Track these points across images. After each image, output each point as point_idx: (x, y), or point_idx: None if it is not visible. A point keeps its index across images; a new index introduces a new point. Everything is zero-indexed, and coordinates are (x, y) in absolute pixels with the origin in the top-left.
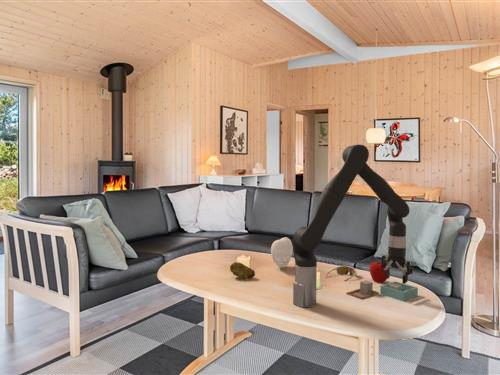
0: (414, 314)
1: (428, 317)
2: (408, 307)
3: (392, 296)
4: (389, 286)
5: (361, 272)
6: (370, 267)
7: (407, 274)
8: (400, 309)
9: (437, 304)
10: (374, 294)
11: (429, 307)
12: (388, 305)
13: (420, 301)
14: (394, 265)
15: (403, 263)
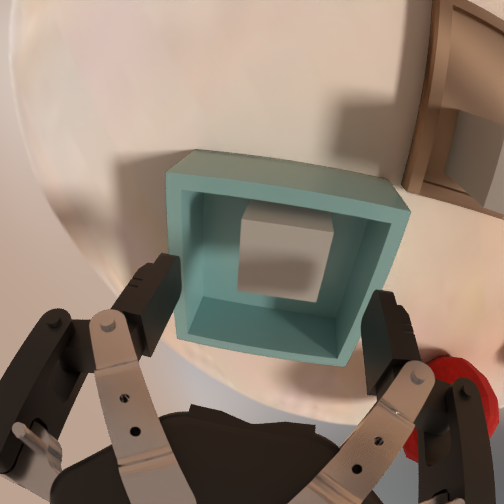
0: (67, 34)
1: (23, 67)
2: (131, 95)
3: (283, 165)
4: (329, 225)
5: (498, 399)
6: (497, 409)
7: (68, 315)
8: (146, 23)
9: (87, 258)
10: (419, 137)
11: (77, 192)
12: (240, 19)
13: (147, 245)
14: (257, 454)
15: (69, 467)
